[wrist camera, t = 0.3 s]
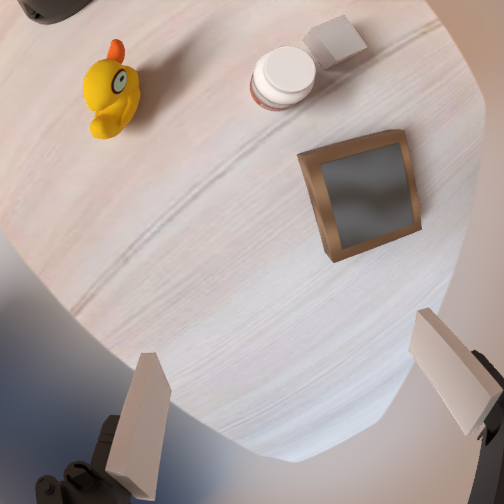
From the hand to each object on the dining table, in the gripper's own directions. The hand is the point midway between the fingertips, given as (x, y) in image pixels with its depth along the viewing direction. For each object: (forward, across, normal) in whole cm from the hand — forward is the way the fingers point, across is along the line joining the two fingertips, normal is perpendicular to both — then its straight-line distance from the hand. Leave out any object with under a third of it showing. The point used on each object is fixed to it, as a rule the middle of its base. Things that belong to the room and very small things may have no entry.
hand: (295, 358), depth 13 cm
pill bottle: (+27, +4, +16) cm, 32 cm away
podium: (+27, +15, +2) cm, 30 cm away
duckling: (+27, -14, +18) cm, 36 cm away
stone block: (+27, +12, +22) cm, 37 cm away
